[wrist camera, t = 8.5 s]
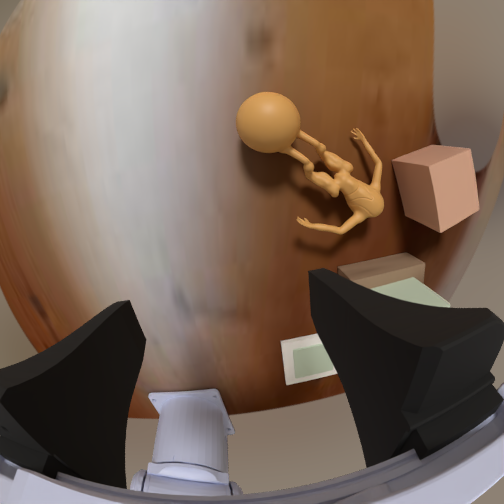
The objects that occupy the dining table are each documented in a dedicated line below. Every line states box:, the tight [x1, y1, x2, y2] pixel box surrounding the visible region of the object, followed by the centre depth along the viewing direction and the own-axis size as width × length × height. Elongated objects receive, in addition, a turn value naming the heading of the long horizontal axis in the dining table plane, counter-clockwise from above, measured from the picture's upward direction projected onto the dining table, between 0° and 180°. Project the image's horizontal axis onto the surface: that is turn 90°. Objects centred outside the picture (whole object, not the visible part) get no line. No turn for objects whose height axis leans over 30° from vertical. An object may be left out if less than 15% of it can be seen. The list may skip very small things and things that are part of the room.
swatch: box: [281, 334, 337, 385], centre depth 25 cm, size 6×6×1 cm
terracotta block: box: [391, 145, 479, 233], centre depth 17 cm, size 5×5×5 cm
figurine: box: [236, 92, 384, 234], centre depth 17 cm, size 8×6×12 cm
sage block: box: [371, 277, 450, 308], centre depth 18 cm, size 5×5×5 cm
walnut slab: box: [338, 252, 425, 289], centre depth 22 cm, size 7×7×3 cm
